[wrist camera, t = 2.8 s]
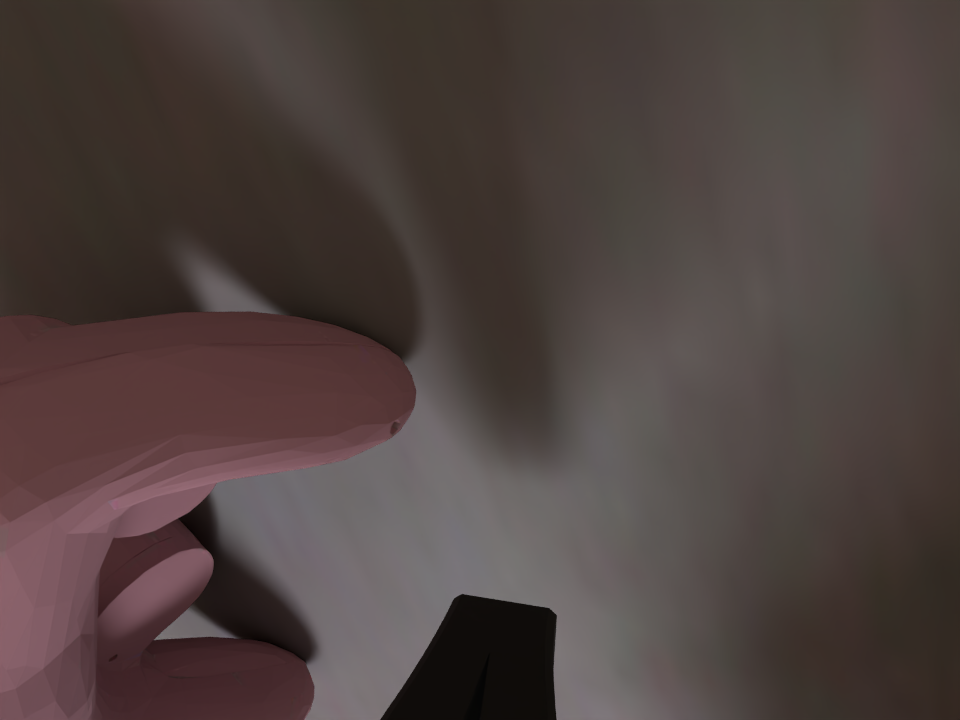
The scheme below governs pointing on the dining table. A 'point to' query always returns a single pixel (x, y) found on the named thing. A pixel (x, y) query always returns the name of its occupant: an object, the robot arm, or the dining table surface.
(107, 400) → the pink toy figure
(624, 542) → the dining table surface
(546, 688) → the robot arm
